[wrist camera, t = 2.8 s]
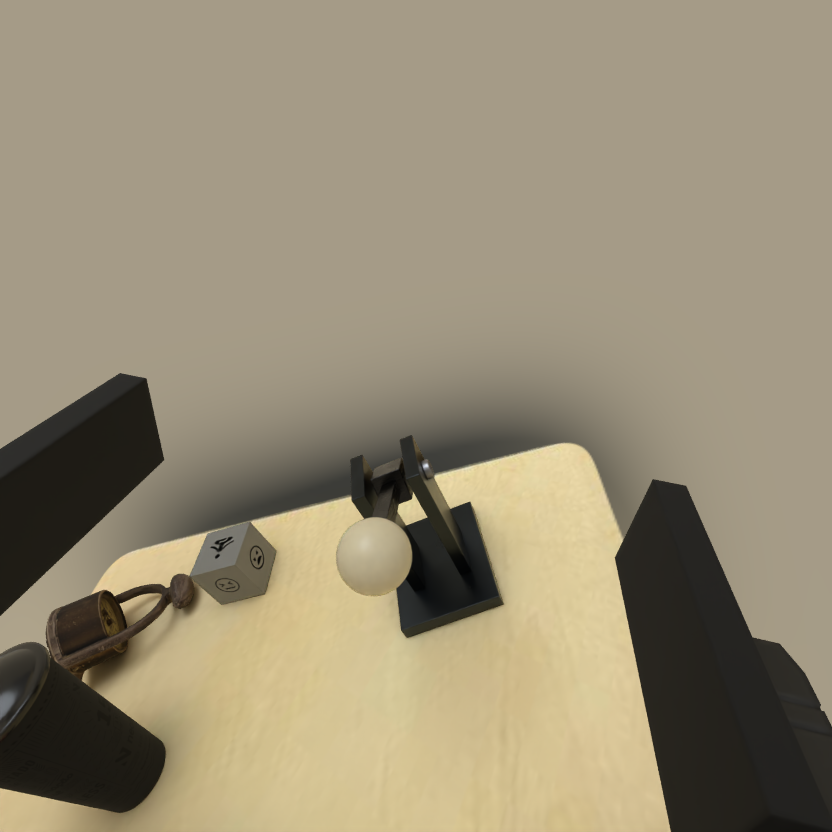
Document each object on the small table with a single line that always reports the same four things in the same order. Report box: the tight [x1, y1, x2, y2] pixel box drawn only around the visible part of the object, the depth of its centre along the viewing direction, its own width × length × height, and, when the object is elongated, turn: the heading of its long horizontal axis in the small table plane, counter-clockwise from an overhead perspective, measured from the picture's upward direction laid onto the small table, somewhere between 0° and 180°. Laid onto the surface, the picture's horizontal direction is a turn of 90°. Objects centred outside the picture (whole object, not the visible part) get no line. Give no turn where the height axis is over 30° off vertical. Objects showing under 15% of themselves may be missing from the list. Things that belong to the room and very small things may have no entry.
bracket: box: [350, 435, 503, 638], centre depth 38 cm, size 10×8×13 cm
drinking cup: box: [0, 642, 165, 813], centre depth 32 cm, size 8×8×20 cm
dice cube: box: [189, 522, 276, 605], centre depth 48 cm, size 5×5×5 cm
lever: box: [336, 458, 413, 596], centre depth 30 cm, size 14×4×4 cm, turn 8°
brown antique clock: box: [46, 574, 194, 681], centre depth 47 cm, size 7×13×10 cm
